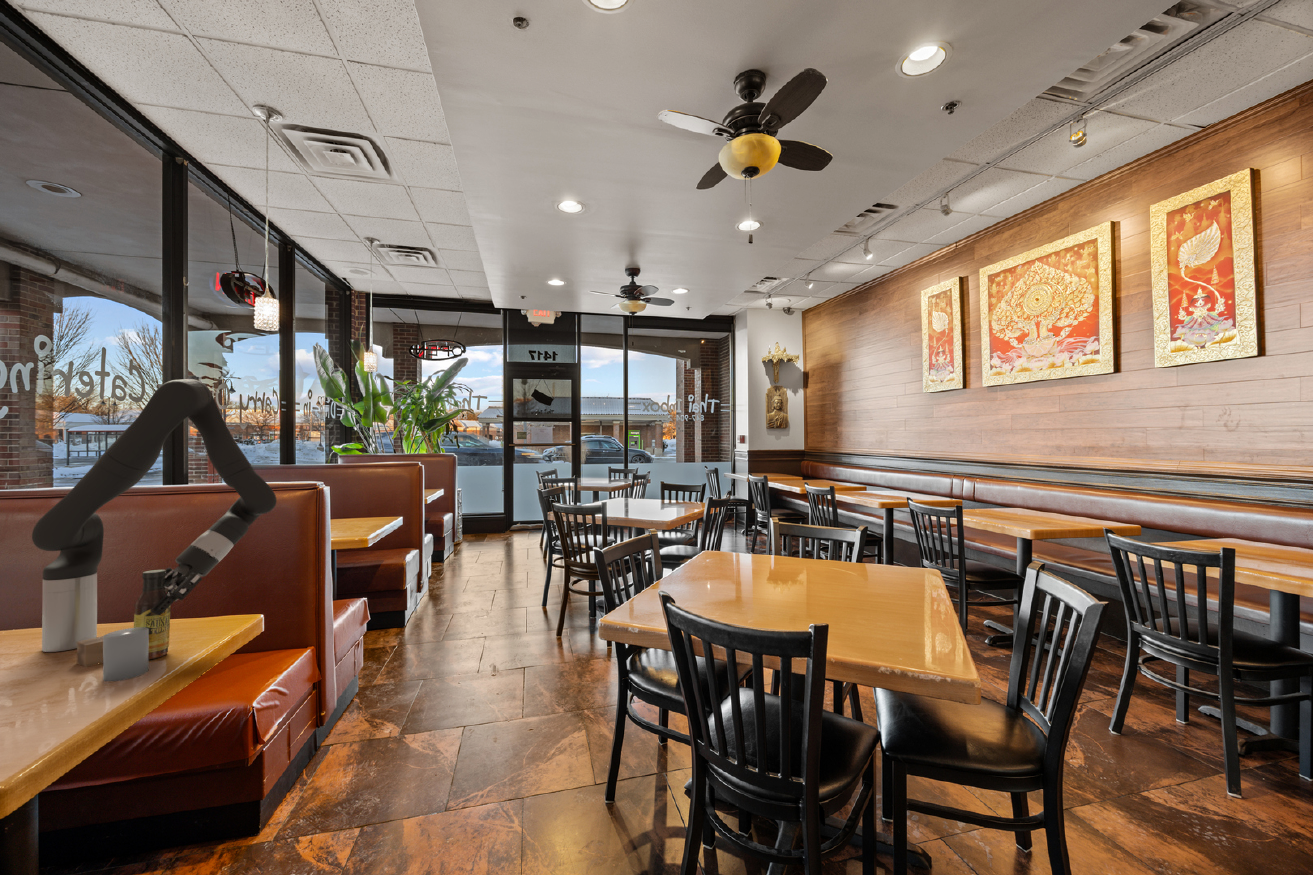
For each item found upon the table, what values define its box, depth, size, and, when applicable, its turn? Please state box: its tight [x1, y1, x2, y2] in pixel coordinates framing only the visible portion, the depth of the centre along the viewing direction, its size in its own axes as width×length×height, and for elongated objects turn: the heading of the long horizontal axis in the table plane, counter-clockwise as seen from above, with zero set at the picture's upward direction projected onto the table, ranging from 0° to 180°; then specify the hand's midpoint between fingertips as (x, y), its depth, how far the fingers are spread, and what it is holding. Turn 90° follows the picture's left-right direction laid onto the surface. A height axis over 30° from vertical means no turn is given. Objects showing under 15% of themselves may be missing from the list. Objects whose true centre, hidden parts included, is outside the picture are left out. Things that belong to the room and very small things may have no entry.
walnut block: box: [76, 635, 104, 668], centre depth 124 cm, size 5×5×5 cm
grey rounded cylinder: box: [102, 627, 150, 682], centre depth 116 cm, size 7×7×9 cm
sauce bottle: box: [133, 569, 172, 660], centre depth 126 cm, size 7×6×20 cm
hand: (146, 610), depth 126 cm, fingers open, 8 cm apart
